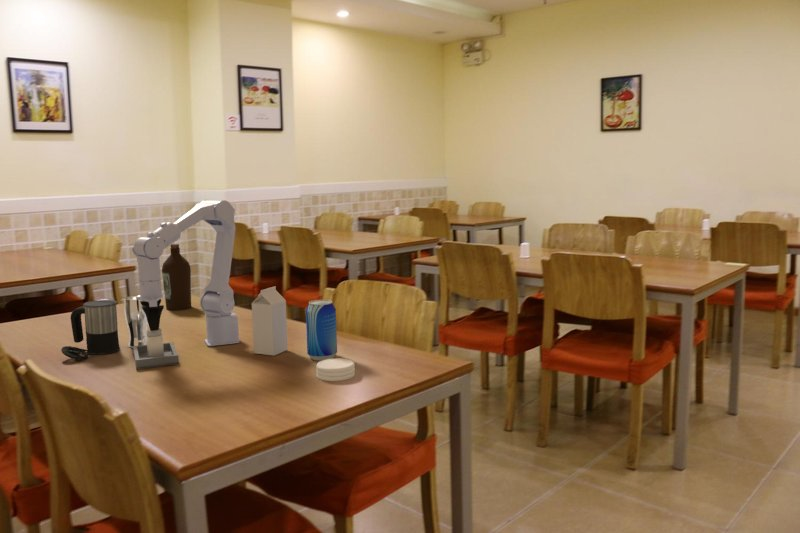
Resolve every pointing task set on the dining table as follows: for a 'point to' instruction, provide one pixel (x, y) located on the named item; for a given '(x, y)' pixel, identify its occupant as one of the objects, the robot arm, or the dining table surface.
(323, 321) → the beer can
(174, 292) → the olive oil
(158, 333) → the salt shaker
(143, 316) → the beer glass
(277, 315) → the milk carton
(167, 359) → the tray
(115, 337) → the milk frother
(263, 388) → the dining table surface
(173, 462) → the dining table surface
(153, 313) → the robot arm
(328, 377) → the white round container
